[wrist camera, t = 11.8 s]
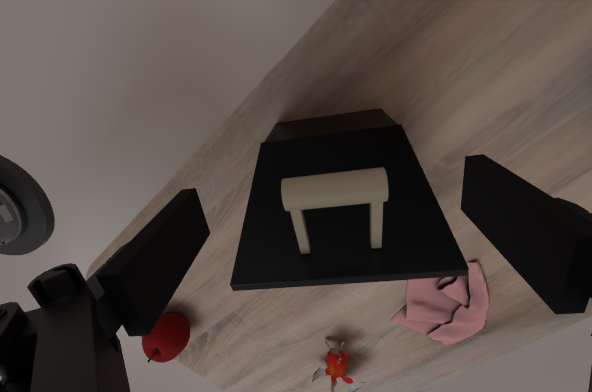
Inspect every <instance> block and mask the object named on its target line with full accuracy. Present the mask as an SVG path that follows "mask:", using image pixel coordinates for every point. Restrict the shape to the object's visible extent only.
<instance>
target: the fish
mask: <svg viewBox="0 0 592 392" xmlns="http://www.w3.org/2000/svg"><path fill="white" fill-rule="evenodd" d="M326 339H327V337H326V338H325V341H326ZM326 344H327V342H326ZM344 344H345V342H342V343H341V347H342V346H343V345H344ZM327 345H328V344H327ZM328 346H329V345H328ZM329 348H330V347H329ZM330 349H331V348H330ZM348 355H349V354H345V353H344V351H343V350H342V349H341V348H333V349H331V350H329V352H328V353H327V355H326V359H327V367H320V368H319V369H318V370H317V371H316V372H315V373H314V376H313V380H312V382H313V381H314V380H316V379H317V378H320V377H322V376H326V375H331V391H332V392H334V387H335V386H336V384H337V380H336V378H338V377H341V378H342V379H343V381H344V383H345V385H346V386H347V388H348V390H349V392H354V391H356V390H358V389H359V388H362V387H363V386H364V385H365V383H366V382H365V383H362V382H358V381H356V380H354V379H352V378H350V377H349V376H347V375H345V374H344V373H345V372H346V369H347V365H348V360H347V356H348ZM351 356H353V355H351ZM353 357H355V356H353ZM355 358H356V357H355ZM356 359H357V358H356ZM357 360H358V359H357ZM358 362H359V361H358Z"/></svg>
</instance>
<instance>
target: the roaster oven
mask: <svg viewBox="0 0 592 392" xmlns="http://www.w3.org/2000/svg"><path fill="white" fill-rule="evenodd" d="M392 125H398V124H397V123H396V122H395V121H394V120H393V119H392V118H390V117H389V116H388V115H387V114H386V113H385V112H384V111H383V110H382V109H381V108H380V109H373V110H365V111H358V112H351V113H344V114H337V115H330V116H323V117H316V118H308V119H301V120H294V121H287V122H280V123H276V125H275V126H274V128H273V129H272V131H271V132H270V134H269V136H268V137H267V139H266V140H265V142H271V141H279V140H286V139H294V138H301V137H309V136H316V135H324V134H332V133H339V132H347V131H354V130H362V129H369V128H377V127H384V126H392Z"/></svg>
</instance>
